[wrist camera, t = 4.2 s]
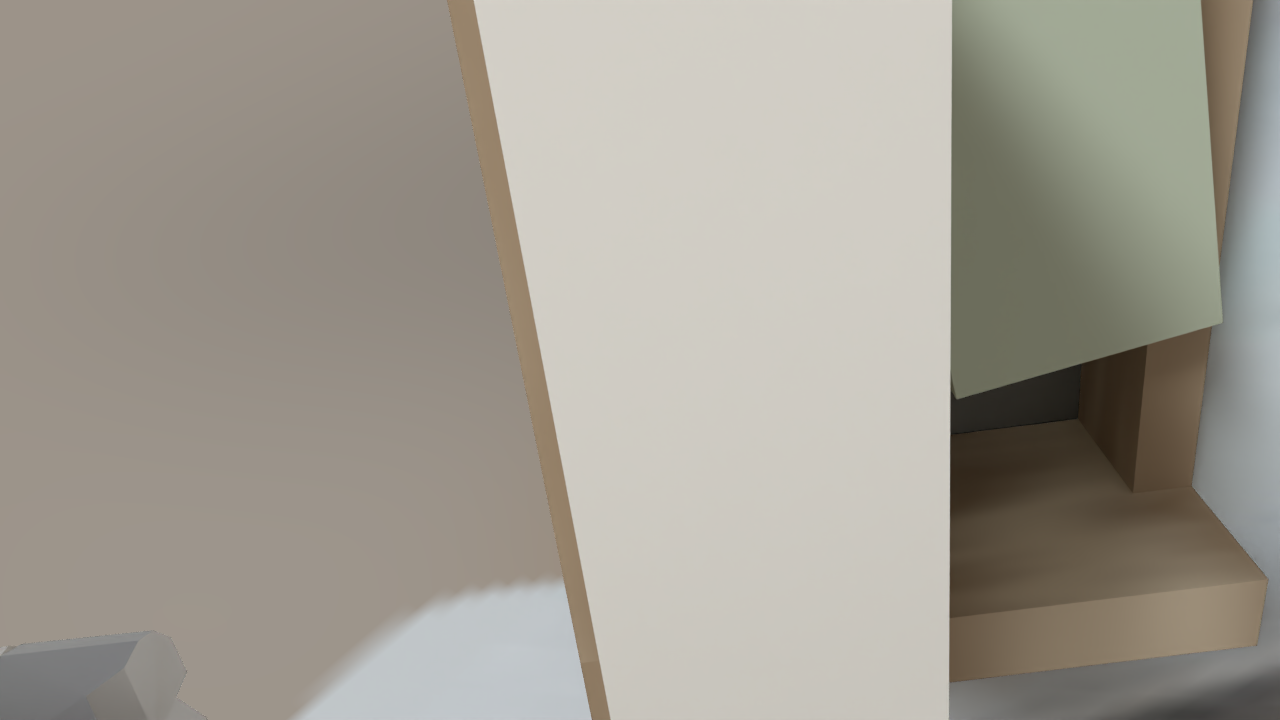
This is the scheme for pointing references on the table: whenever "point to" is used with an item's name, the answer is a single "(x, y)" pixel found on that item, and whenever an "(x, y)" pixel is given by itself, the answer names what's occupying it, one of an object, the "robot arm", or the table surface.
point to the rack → (1013, 468)
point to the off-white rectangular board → (744, 339)
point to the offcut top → (1077, 184)
